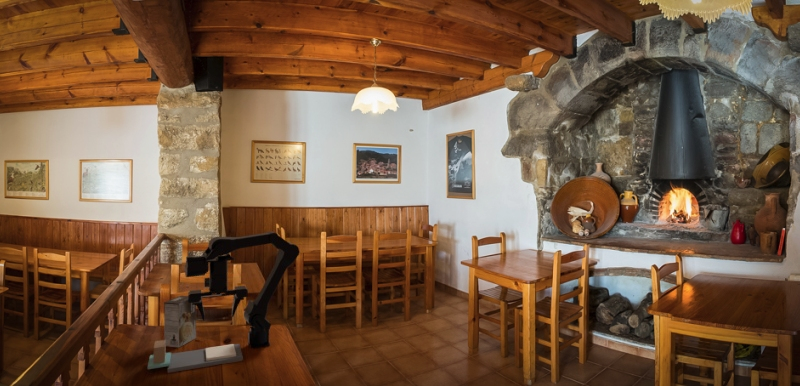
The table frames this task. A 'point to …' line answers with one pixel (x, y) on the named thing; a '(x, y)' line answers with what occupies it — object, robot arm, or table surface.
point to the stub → (159, 356)
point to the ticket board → (205, 357)
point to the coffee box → (179, 321)
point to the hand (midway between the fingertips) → (218, 318)
